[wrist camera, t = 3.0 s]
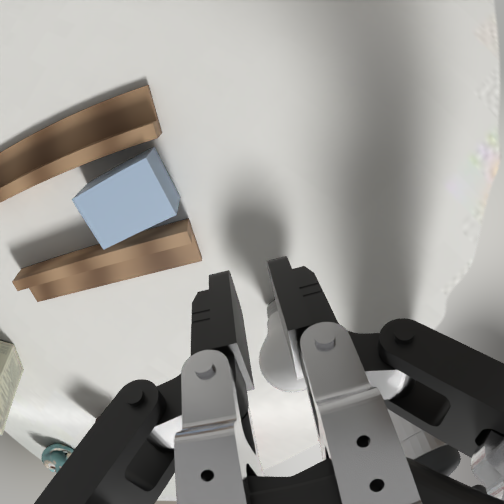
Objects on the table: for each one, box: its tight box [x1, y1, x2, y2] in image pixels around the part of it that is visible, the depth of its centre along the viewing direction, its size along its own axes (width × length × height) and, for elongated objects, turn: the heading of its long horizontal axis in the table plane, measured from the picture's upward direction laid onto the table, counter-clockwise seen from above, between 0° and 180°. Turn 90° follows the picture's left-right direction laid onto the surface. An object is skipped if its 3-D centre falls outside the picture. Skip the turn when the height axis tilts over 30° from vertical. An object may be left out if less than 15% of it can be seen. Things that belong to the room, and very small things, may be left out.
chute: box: [0, 85, 202, 302], centre depth 25 cm, size 20×16×2 cm
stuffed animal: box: [42, 443, 73, 472], centre depth 48 cm, size 11×7×12 cm
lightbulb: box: [259, 300, 307, 392], centre depth 30 cm, size 6×6×11 cm
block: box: [72, 147, 180, 250], centre depth 25 cm, size 7×5×4 cm
